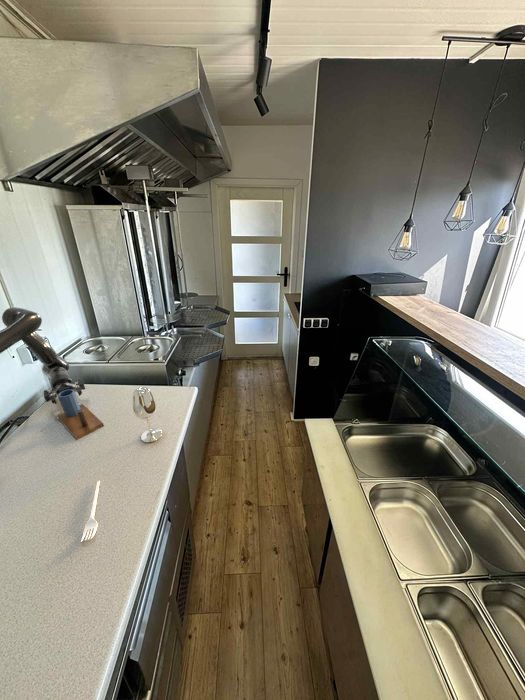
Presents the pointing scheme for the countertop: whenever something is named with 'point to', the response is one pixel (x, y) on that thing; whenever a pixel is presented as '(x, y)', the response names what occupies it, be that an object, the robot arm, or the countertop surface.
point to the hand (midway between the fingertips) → (67, 397)
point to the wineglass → (145, 412)
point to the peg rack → (80, 422)
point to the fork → (92, 518)
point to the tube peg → (69, 402)
